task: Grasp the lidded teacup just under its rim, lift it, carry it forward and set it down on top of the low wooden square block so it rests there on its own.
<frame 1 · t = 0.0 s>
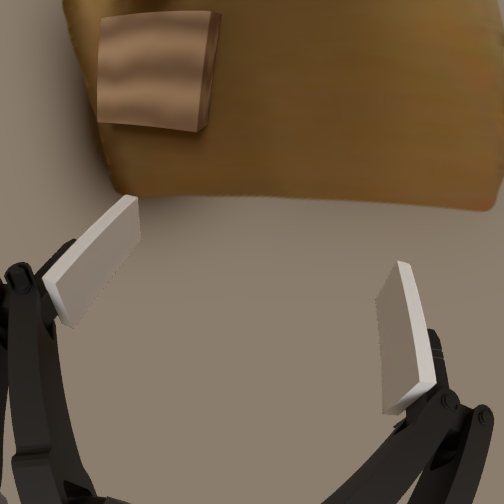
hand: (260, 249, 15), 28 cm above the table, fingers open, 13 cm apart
wooden square block: (159, 66, 35), on the table
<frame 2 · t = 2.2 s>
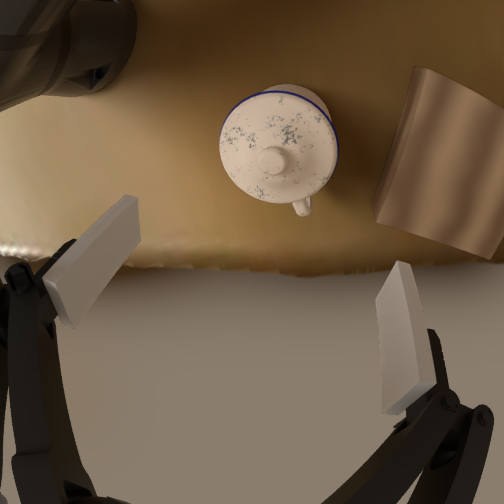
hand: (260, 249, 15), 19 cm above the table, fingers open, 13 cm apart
teacup with lid: (293, 137, 29), on the table
wooden square block: (457, 163, 26), on the table
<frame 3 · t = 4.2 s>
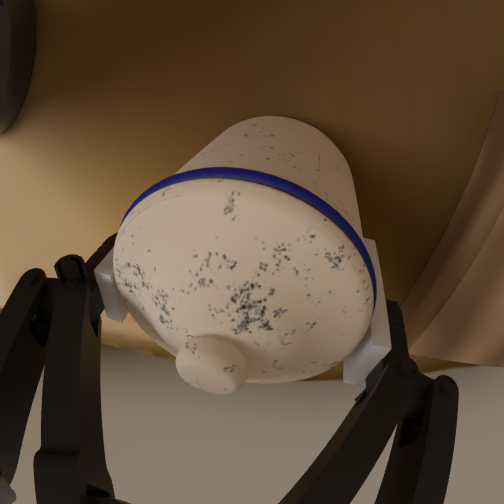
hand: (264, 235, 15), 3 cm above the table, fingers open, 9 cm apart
teacup with lid: (283, 210, 18), on the table, touching gripper
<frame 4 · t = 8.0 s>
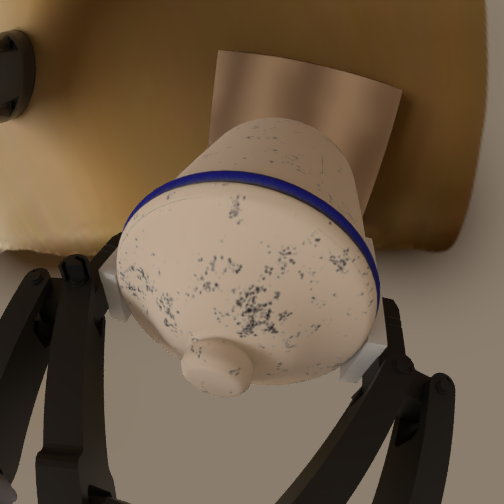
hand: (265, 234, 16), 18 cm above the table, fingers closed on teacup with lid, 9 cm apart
teacup with lid: (285, 212, 18), point 15 cm above the table, touching gripper
wooden square block: (297, 137, 29), on the table
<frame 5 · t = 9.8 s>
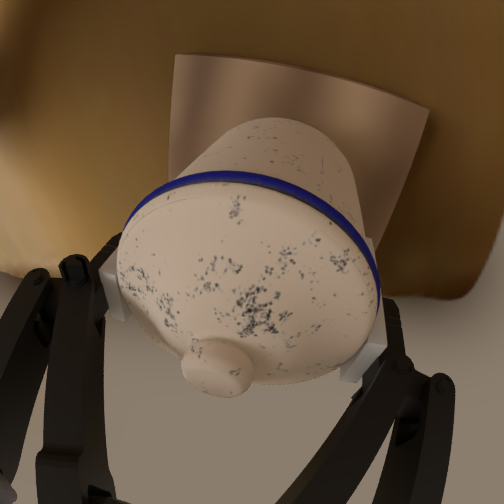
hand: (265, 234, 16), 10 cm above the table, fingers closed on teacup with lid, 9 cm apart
teacup with lid: (285, 212, 18), point 7 cm above the table, touching gripper
wooden square block: (285, 166, 23), on the table
when the fingers open (8 cm above the table, at t = 11.4 s): teacup with lid drops 2 cm, resting on wooden square block.
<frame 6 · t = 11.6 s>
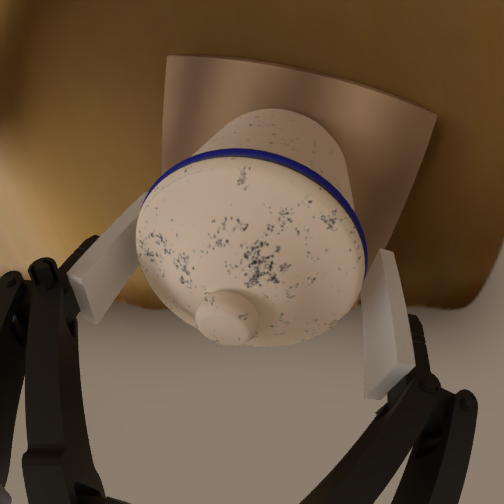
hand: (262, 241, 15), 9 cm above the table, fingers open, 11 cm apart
teacup with lid: (283, 195, 19), point 4 cm above the table, touching wooden square block
wooden square block: (284, 173, 22), on the table
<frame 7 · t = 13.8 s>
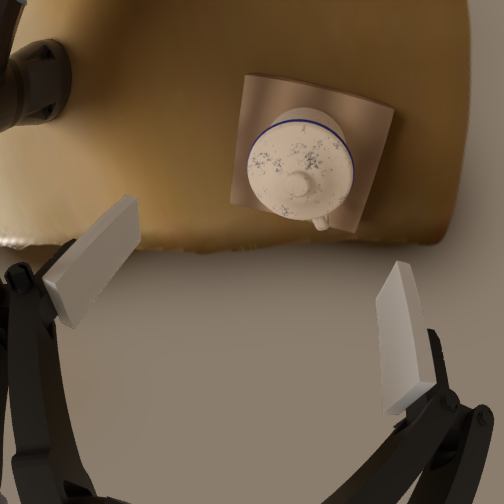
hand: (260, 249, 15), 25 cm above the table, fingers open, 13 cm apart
teacup with lid: (310, 156, 32), point 4 cm above the table, touching wooden square block
wooden square block: (308, 147, 35), on the table
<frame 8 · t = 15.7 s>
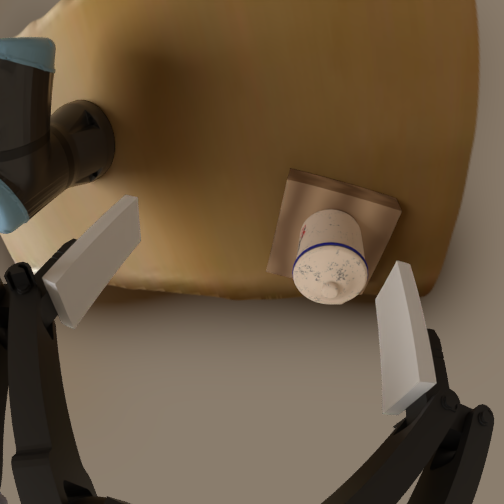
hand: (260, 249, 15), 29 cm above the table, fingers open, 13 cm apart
teacup with lid: (332, 242, 43), point 4 cm above the table, touching wooden square block
wooden square block: (330, 228, 46), on the table
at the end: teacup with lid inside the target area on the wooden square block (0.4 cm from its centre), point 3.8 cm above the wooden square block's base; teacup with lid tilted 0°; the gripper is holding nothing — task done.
